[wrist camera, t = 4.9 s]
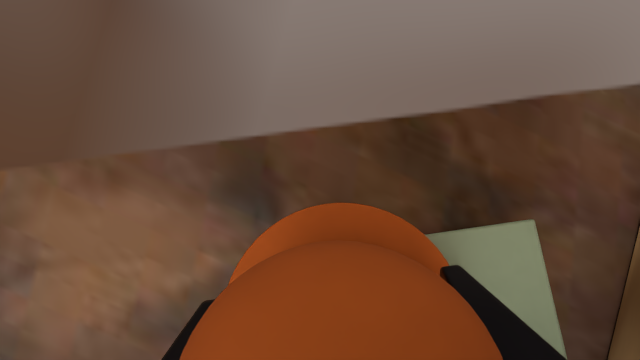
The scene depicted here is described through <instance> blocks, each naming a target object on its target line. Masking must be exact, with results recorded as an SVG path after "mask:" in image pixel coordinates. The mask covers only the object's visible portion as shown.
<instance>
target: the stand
mask: <svg viewBox="0 0 640 360" xmlns="http://www.w3.org/2000/svg"><path fill="white" fill-rule="evenodd" d="M608 360H640V227H639V232H638V236H637V240H636V244H635V248H634V252H633V256H632V261H631V265H630V269H629V273H628V277H627V281H626V285H625V289H624V294H623V298H622V302H621V306H620V310H619V314H618V318H617V323H616V327H615V331H614V335H613V339H612V343H611V347H610V352H609V356H608Z"/></svg>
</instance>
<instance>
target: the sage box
mask: <svg viewBox="0 0 640 360" xmlns="http://www.w3.org/2000/svg"><path fill="white" fill-rule="evenodd" d="M425 236H426V237H427V238H428V239H429V240H430V241H431V242H432V243H433V244H434V245H435V246H436V247H437V248H438V249H439V251H440V252H441V254H442V255H443V256H444V258H445V259H446V260H447V262H448V264H449V265H459V266H461V267H462V268H463V269H464V270H466V271H467V272H468V273H469V274H470V275H471V276H472V277H474V278H475V279H476V280H477V281H478V282H479V283H480V284H481V285H483V286H484V287H485V288H486V289H487V290H488V291H489V292H491V293H492V294H493V295H494V296H495V297H496V298H497V299H499V300H500V301H501V302H502V303H503V304H504V305H505V306H507V307H508V308H509V309H510V310H511V311H512V312H513V313H515V314H516V315H517V316H518V317H519V318H520V319H521V320H522V321H524V322H525V323H526V324H527V325H528V326H529V327H530V328H532V329H533V330H534V331H535V332H536V333H537V334H538V335H540V336H541V337H542V338H543V339H544V340H545V341H546V342H548V343H549V344H550V345H551V346H552V347H553V348H554V349H556V350H557V351H558V352H559V353H560V354H561V355H562V356H563V357H565V358H566V359H567V356H566V352H565V347H564V343H563V339H562V335H561V330H560V326H559V322H558V318H557V314H556V309H555V305H554V301H553V297H552V292H551V288H550V284H549V280H548V275H547V271H546V267H545V263H544V258H543V254H542V250H541V246H540V242H539V237H538V233H537V229H536V225H535V221H534V220H532V219H529V220H523V221H516V222H509V223H502V224H495V225H488V226H482V227H475V228H468V229H461V230H454V231H447V232H441V233H434V234H427V235H425Z"/></svg>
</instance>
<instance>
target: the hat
mask: <svg viewBox="0 0 640 360" xmlns="http://www.w3.org/2000/svg"><path fill="white" fill-rule="evenodd" d="M443 266H450V265H449V264H448V262H447V260H446V259H445V258H444V256H443V255H442V254H441V252H440V251H439V249H438V248H437V247H436V246H435V245H434V244H433V243H432V242H431V241H430V240H429V239H428V238H427V237H426V236H425V235H424V234H423V233H422V232H420V231H419V230H418V229H417V228H416V227H414V226H413V225H411V224H410V223H408V222H407V221H405V220H403V219H402V218H400V217H398V216H396V215H394V214H392V213H389V212H387V211H385V210H382V209H378V208H375V207H372V206H368V205H362V204H356V203H329V204H322V205H317V206H313V207H309V208H306V209H303V210H300V211H297V212H295V213H293V214H291V215H289V216H287V217H285V218H283V219H281V220H280V221H278V222H277V223H275V224H274V225H272V226H271V227H270V228H268V229H267V230H266V231H265V232H264V233H263V234H261V235H260V236H259V237H258V238H257V239H256V240H255V241H254V243H253V244H252V245H251V246H250V247H249V248H248V249H247V251H246V252H245V254H244V255H243V257H242V258H241V260H240V261H239V263H238V264H237V266H236V268H235V270H234V272H233V274H232V276H231V279H230V281H229V284H228V286H227V287H226V288H225V289H224V290H223V291H222V292H221V293H220V295H219V296H218V297H217V298H216V299H215V300H214V302H213V303H212V304H211V305H210V306H209V308H208V309H207V311H206V312H205V314H204V315H203V317H202V318H201V320H200V321H199V323H198V324H197V326H196V327H195V329H194V330H193V332H192V334H191V336H190V338H189V340H188V342H187V344H186V346H185V348H184V350H183V352H182V354H181V357H180V360H503V358H502V356H501V353H500V351H499V349H498V348H497V346H496V344H495V342H494V340H493V339H492V337H491V335H490V333H489V332H488V330H487V328H486V326H485V325H484V323H483V322H482V321H481V319H480V318H479V317H478V315H477V314H476V312H475V311H474V310H473V308H472V307H471V306H470V305H469V303H468V302H467V301H466V300H465V299H464V298H463V297H462V296H461V295H460V294H459V293H458V292H457V291H456V290H455V289H454V288H453V287H452V286H451V285H450V284H448V283H447V282H446V281H445V280H444V279H442V278H441V277H440V269H441V267H443Z"/></svg>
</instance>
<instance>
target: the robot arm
mask: <svg viewBox="0 0 640 360" xmlns="http://www.w3.org/2000/svg"><path fill="white" fill-rule="evenodd" d="M440 277H441V278H442V279H444V280H445V281H446V282H447V283H448V284H450V285H451V286H452V287H453V288H454V289H455V290H456V291H457V292H458V293H459V294H460V295H461V296H462V297H463V298H464V299H465V300H466V301H467V302H468V303H469V305H470V306H471V307H472V308H473V310H474V311H475V312H476V314H477V315H478V317H479V318H480V319H481V321H482V322H483V323H484V325H485V326H486V328H487V330H488V332H489V333H490V335H491V337H492V339H493V340H494V342H495V344H496V346H497V348H498V349H499V351H500V353H501V356H502V358H503V360H567V359H566V358H565V357H563V356H562V355H561V354H560V353H559V352H558V351H557V350H556V349H554V348H553V347H552V346H551V345H550V344H549V343H548V342H546V341H545V340H544V339H543V338H542V337H541V336H540V335H538V334H537V333H536V332H535V331H534V330H533V329H532V328H530V327H529V326H528V325H527V324H526V323H525V322H524V321H522V320H521V319H520V318H519V317H518V316H517V315H516V314H515V313H513V312H512V311H511V310H510V309H509V308H508V307H507V306H505V305H504V304H503V303H502V302H501V301H500V300H499V299H497V298H496V297H495V296H494V295H493V294H492V293H491V292H489V291H488V290H487V289H486V288H485V287H484V286H483V285H481V284H480V283H479V282H478V281H477V280H476V279H475V278H474V277H472V276H471V275H470V274H469V273H468V272H467V271H466V270H464V269H463V268H462V267H461V266H459V265H450V266H443V267H441V269H440ZM214 300H215V299H213V300H207V301H204V302H203V303H202V304H201V305H200V306H199V308H198V309H197V310H196V312H195V313H194V315H193V316H192V317H191V319H190V320H189V322H188V323H187V324H186V326H185V327H184V329H183V330H182V331H181V333H180V334H179V336H178V337H177V338H176V340H175V341H174V343H173V344H172V345H171V347H170V348H169V350H168V351H167V353H166V354H165V355H164V357H163V358H162V360H180V357H181V354H182V352H183V350H184V348H185V346H186V344H187V342H188V340H189V338H190V336H191V334H192V332H193V330H194V329H195V327H196V326H197V324H198V323H199V321H200V320H201V318H202V317H203V315H204V314H205V312H206V311H207V309H208V308H209V306H210V305H211V304H212V303H213V302H214Z"/></svg>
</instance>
